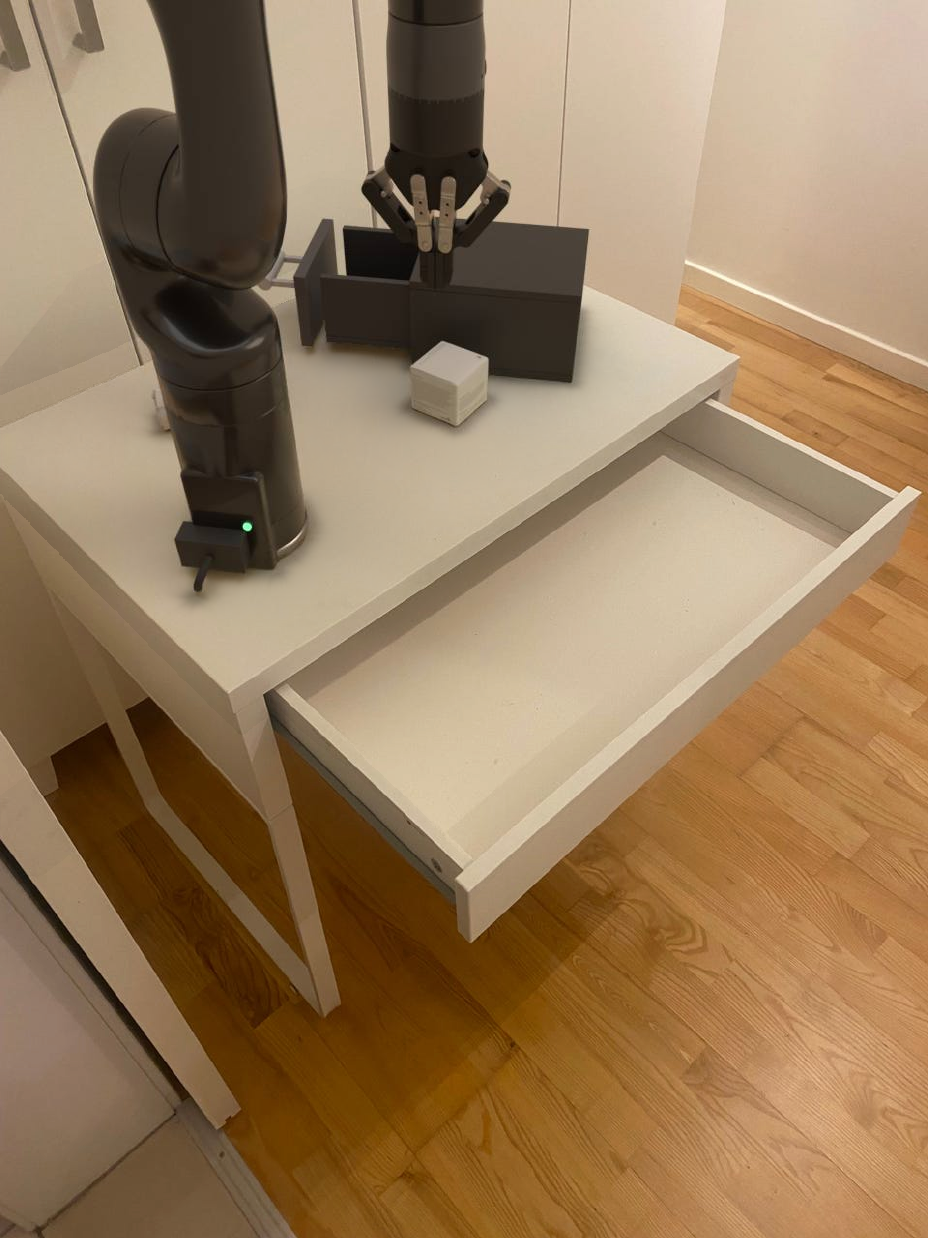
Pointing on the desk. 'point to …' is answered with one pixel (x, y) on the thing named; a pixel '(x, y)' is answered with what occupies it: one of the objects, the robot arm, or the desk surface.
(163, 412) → the smartwatch
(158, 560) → the desk surface
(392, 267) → the open dark drawer
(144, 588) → the desk surface
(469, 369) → the small box
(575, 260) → the dark brown box
